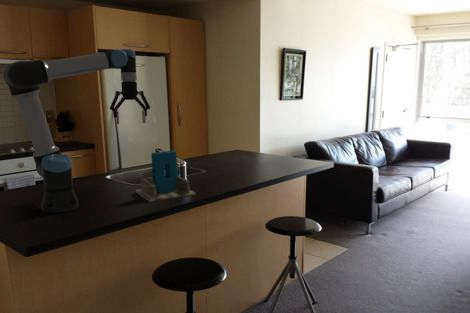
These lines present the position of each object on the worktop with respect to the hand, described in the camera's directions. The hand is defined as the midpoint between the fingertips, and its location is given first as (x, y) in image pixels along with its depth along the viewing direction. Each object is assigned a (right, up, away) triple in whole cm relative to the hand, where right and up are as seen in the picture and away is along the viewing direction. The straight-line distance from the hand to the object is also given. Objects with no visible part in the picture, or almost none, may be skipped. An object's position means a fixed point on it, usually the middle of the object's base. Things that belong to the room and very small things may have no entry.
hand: (131, 123), depth 204 cm
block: (+18, -35, -3) cm, 39 cm away
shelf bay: (+18, -35, -3) cm, 40 cm away
